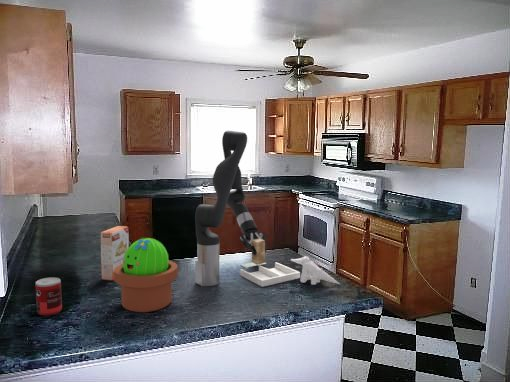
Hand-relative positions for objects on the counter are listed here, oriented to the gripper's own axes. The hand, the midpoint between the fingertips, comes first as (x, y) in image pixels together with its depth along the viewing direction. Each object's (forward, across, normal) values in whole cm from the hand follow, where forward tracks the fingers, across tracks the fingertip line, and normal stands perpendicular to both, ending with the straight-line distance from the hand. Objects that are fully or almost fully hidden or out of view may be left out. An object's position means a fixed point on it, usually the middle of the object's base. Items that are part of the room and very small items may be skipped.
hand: (260, 253), depth 194 cm
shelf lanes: (+15, -5, -5) cm, 17 cm away
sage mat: (+4, 0, +6) cm, 7 cm away
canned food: (+6, -90, +4) cm, 90 cm away
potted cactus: (+14, -59, -4) cm, 61 cm away
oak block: (+2, 0, +5) cm, 5 cm away
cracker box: (-12, -60, +23) cm, 65 cm away
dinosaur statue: (+27, +6, -17) cm, 32 cm away
